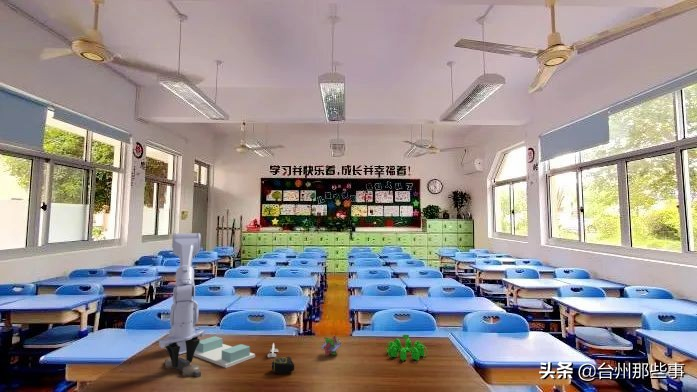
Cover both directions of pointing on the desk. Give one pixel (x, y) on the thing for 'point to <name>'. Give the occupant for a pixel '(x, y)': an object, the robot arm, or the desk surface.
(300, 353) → the desk surface
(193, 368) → the rod with two spheres
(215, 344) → the stand
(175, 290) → the robot arm
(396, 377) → the desk surface
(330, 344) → the geometric puzzle
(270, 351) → the white tapered piece
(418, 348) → the green lumpy cluster
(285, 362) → the tape measure
